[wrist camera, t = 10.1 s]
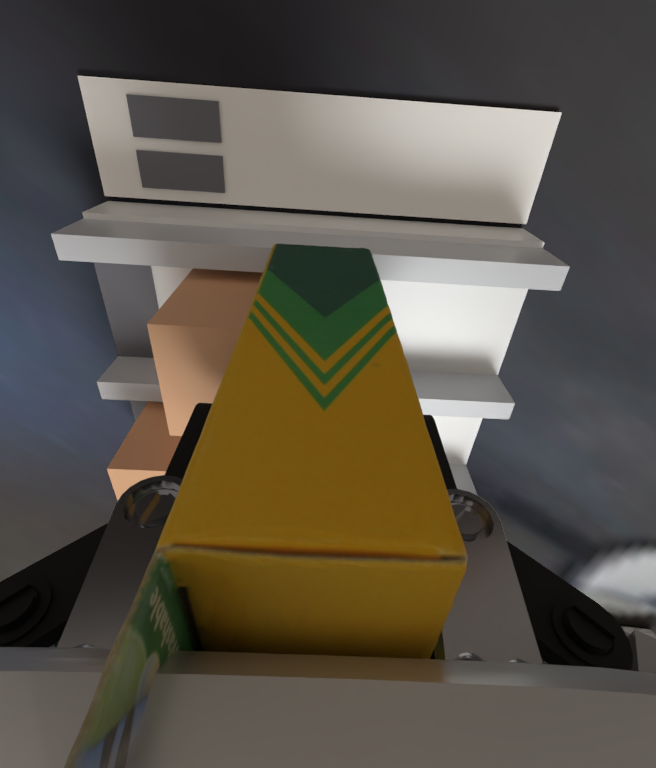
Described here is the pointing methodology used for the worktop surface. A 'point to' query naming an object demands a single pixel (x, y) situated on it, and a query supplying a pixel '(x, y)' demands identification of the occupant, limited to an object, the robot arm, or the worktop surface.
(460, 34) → the worktop surface
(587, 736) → the robot arm
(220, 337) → the tan rectangular block
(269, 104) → the white divided tray
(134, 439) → the light orange block
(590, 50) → the worktop surface
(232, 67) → the worktop surface
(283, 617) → the crayon box
